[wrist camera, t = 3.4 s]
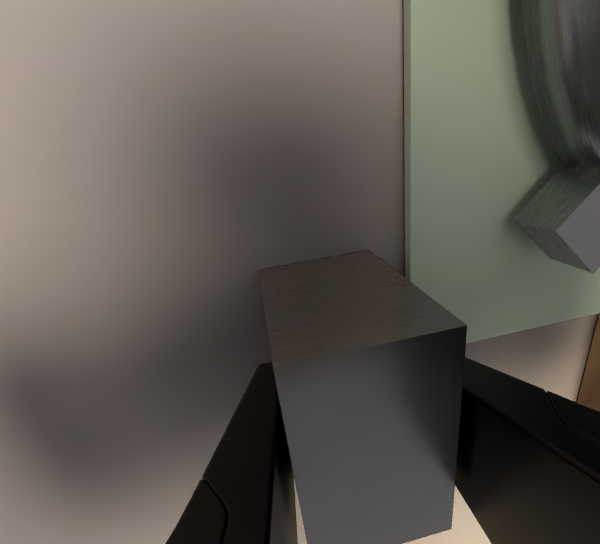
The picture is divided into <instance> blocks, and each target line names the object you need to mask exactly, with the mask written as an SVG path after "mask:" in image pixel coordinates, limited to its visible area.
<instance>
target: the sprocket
mask: <svg viewBox="0 0 600 544" xmlns="http://www.w3.org/2000/svg"><path fill="white" fill-rule="evenodd" d="M522 8H523V30H524V37H525V44H526V51H527V57H528V64H529V71H530V78H531V83H532V87H533V91H534V94H535V98H536V101H537V105H538V109H539V112H540V116H541V120H542V123H543V126H544V129H545V131H546V133H547V136H548V138H549V140H550V142H551V145H552V147H553V149H554V152H555V154H556V156H557V158H558V161H559V163H560V164H561V167H560V168H559V169H558V170H557V171H556V172H555V173H554V175H553V176H552V177H551V178H550V179H549V180H548V181H547V182H546V184H545V185H544V186H543V187H542V188H541V189H540V190H539V191H538V193H537V194H536V195H535V196H534V197H533V198H532V199H531V200H530V202H529V203H528V204H527V205H526V206H525V207H524V208H523V209H522V211H521V212H520V213H519V214H518V215H517V216H516V217H515V218H514V219H513V221H514V222H515V223H516V224H517V225H518V226H519V227H520V228H521V229H522V230H523V231H524V232H525V233H526V234H527V236H528V237H529V238H530V239H531V240H532V241H533V242H534V243H535V244H536V245H537V246H538V247H539V248H540V249H541V250H542V251H543V252H544V253H545V254H546V255H547V256H548V257H549V258H550V259H553V260H556V261H559V262H562V263H565V264H568V265H570V266H573V267H576V268H579V269H582V270H585V271H588V272H590V273H594V272H595V271H596V270H597V269H598V268H599V267H600V0H522Z"/></svg>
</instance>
